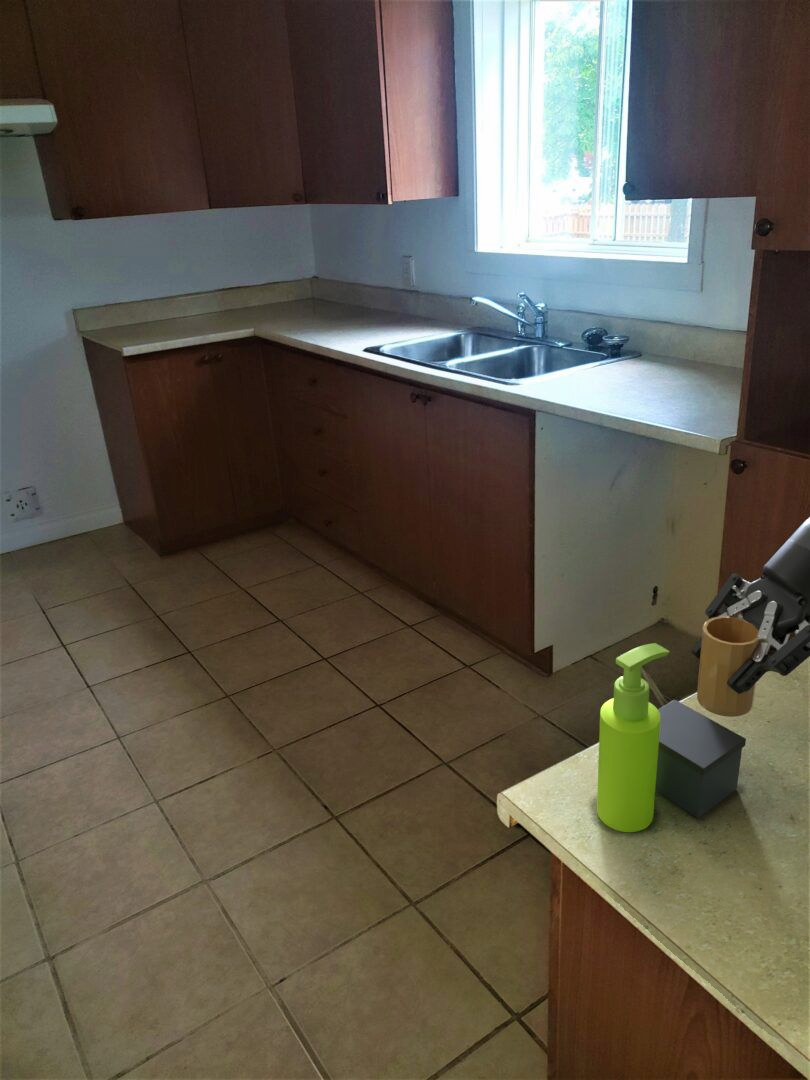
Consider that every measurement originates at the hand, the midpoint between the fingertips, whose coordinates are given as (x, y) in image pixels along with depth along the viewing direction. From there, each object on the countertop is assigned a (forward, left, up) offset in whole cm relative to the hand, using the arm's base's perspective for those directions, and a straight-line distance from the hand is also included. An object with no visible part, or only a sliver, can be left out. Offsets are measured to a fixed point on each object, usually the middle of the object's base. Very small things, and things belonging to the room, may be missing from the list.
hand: (715, 672), depth 91 cm
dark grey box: (-2, +7, -10) cm, 13 cm away
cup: (-1, -2, -4) cm, 5 cm away
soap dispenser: (-1, +15, -11) cm, 18 cm away
